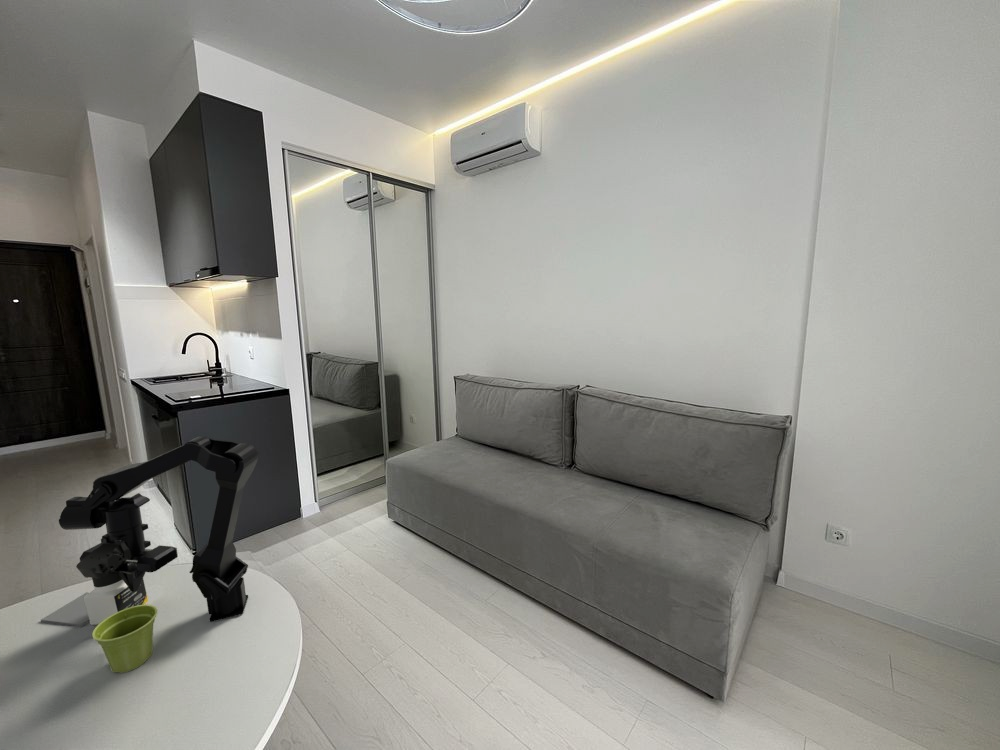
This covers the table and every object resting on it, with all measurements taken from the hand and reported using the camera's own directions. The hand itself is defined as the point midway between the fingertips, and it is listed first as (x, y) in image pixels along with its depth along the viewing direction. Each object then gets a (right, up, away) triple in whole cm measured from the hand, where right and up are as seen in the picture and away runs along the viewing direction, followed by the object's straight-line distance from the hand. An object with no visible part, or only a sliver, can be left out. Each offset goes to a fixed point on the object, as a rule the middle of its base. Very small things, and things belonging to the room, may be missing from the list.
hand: (135, 590), depth 92 cm
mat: (-15, -6, +3) cm, 16 cm away
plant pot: (+9, -8, -11) cm, 16 cm away
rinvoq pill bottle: (-5, -6, +2) cm, 8 cm away
